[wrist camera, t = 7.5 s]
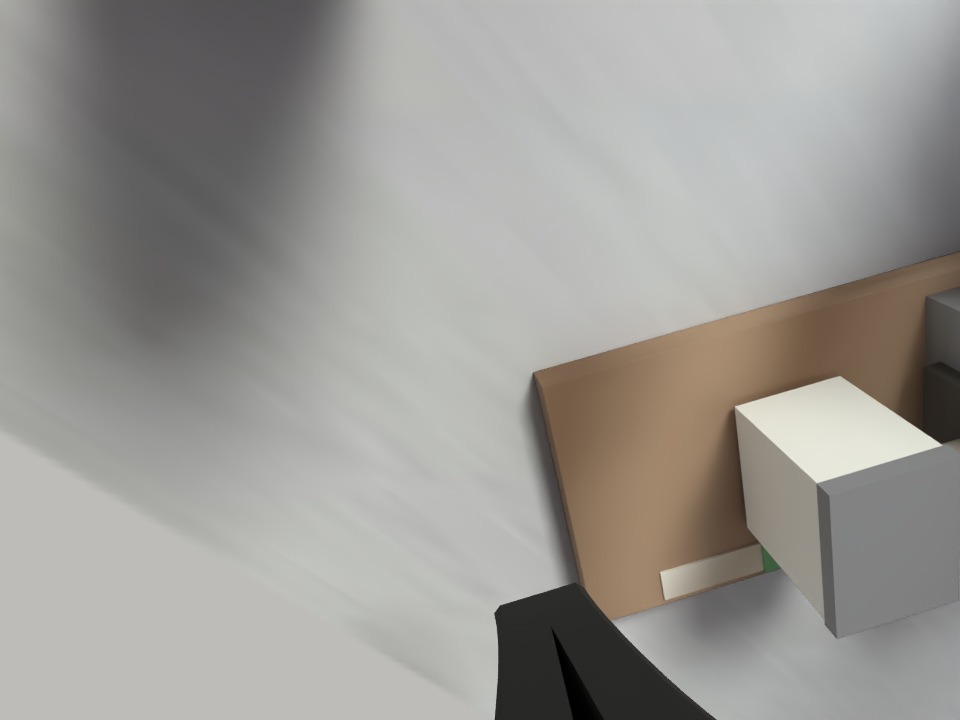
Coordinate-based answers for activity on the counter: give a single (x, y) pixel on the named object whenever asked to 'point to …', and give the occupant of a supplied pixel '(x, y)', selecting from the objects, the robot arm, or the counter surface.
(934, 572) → the block
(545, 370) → the frame
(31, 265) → the counter surface
